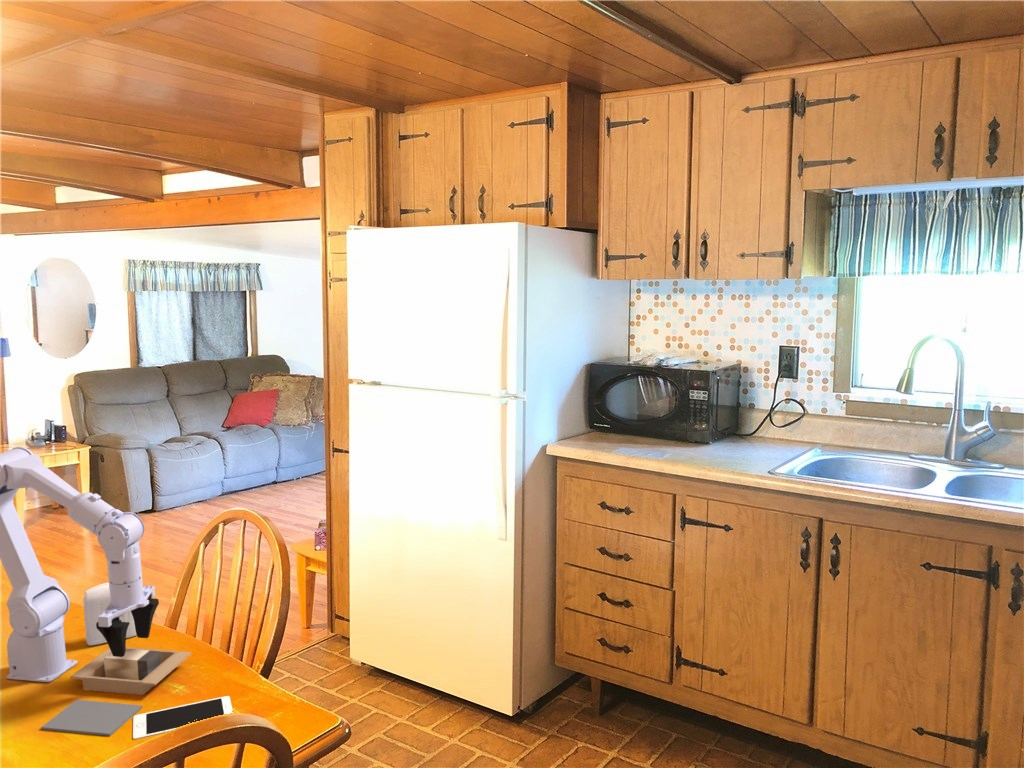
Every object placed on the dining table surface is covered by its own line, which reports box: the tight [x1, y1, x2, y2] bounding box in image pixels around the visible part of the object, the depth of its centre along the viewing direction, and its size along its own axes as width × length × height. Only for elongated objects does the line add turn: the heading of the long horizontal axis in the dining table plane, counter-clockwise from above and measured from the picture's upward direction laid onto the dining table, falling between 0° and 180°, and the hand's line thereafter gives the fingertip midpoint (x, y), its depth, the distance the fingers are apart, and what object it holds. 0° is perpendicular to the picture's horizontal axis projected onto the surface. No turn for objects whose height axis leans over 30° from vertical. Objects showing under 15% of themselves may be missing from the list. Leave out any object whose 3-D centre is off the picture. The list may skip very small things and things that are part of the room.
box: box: [104, 649, 161, 680], centre depth 157 cm, size 9×4×4 cm, turn 81°
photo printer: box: [83, 581, 137, 646], centre depth 173 cm, size 10×4×12 cm, turn 123°
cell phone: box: [132, 695, 234, 740], centre depth 144 cm, size 8×16×1 cm, turn 114°
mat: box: [40, 699, 143, 737], centre depth 143 cm, size 13×9×1 cm
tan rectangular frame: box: [70, 646, 192, 696], centre depth 158 cm, size 17×12×2 cm
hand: (131, 646), depth 157 cm, fingers open, 7 cm apart
